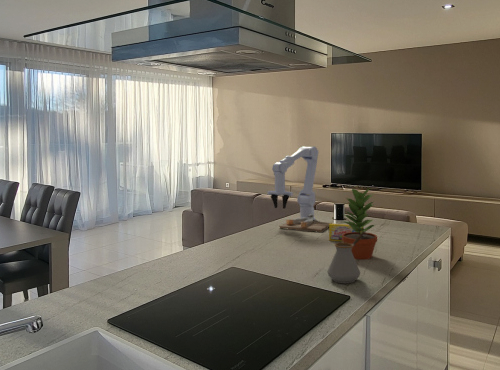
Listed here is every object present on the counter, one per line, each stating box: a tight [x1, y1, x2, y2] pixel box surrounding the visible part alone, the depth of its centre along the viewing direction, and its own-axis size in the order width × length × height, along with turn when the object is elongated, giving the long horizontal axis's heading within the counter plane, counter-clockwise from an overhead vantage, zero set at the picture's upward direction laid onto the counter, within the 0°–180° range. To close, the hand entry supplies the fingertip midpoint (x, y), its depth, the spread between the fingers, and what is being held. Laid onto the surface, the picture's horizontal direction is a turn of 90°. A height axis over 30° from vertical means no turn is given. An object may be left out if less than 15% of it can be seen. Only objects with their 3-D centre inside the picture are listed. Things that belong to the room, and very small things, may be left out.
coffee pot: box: [327, 231, 368, 284], centre depth 164 cm, size 21×12×15 cm, turn 139°
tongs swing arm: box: [285, 217, 307, 225], centre depth 253 cm, size 13×2×2 cm, turn 123°
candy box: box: [328, 223, 365, 242], centre depth 217 cm, size 16×2×8 cm, turn 73°
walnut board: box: [278, 220, 333, 233], centre depth 251 cm, size 19×24×2 cm
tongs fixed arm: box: [301, 214, 315, 227], centre depth 251 cm, size 17×4×4 cm, turn 153°
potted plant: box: [340, 186, 378, 261], centre depth 189 cm, size 15×15×30 cm
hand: (280, 208), depth 253 cm, fingers open, 4 cm apart
